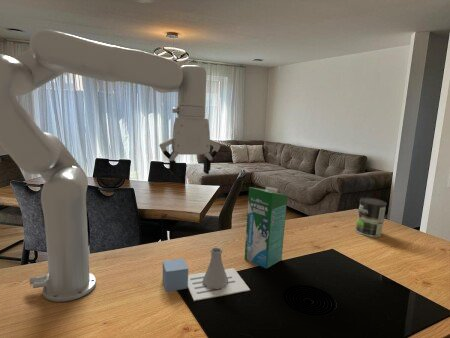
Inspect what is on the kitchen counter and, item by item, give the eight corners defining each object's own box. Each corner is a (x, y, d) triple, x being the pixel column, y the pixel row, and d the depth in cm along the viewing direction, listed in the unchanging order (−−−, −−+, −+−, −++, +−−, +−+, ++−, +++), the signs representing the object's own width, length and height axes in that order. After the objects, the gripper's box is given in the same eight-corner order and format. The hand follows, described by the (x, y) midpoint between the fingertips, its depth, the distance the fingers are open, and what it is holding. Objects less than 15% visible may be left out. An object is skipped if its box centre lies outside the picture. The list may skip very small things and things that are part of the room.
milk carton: (281, 259, 101) (288, 188, 96) (266, 269, 94) (272, 192, 89) (260, 250, 107) (265, 182, 102) (244, 258, 100) (248, 186, 95)
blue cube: (165, 292, 80) (166, 271, 79) (162, 280, 86) (162, 260, 85) (187, 288, 82) (188, 268, 81) (183, 277, 88) (183, 258, 87)
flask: (232, 281, 86) (234, 248, 84) (218, 293, 80) (220, 258, 78) (211, 272, 90) (213, 241, 88) (197, 283, 84) (198, 250, 82)
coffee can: (364, 237, 123) (368, 204, 120) (351, 227, 133) (355, 197, 130) (387, 237, 124) (392, 205, 122) (372, 227, 134) (377, 197, 132)
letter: (193, 301, 77) (193, 299, 77) (183, 276, 88) (183, 275, 88) (250, 290, 82) (250, 289, 82) (233, 268, 93) (233, 267, 93)
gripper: (162, 111, 76) (161, 177, 79) (225, 114, 82) (222, 175, 85) (157, 111, 83) (157, 171, 86) (216, 113, 89) (214, 170, 92)
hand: (190, 173), depth 85 cm, fingers open, 9 cm apart
